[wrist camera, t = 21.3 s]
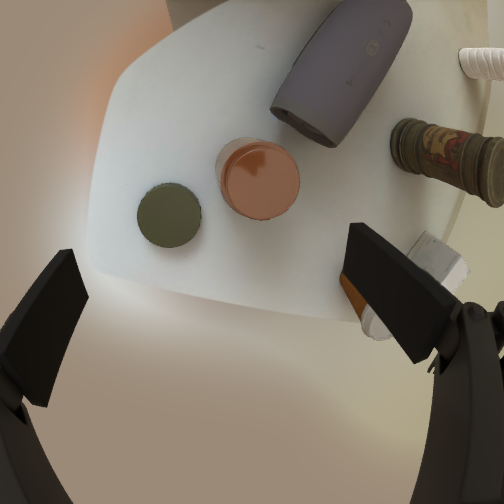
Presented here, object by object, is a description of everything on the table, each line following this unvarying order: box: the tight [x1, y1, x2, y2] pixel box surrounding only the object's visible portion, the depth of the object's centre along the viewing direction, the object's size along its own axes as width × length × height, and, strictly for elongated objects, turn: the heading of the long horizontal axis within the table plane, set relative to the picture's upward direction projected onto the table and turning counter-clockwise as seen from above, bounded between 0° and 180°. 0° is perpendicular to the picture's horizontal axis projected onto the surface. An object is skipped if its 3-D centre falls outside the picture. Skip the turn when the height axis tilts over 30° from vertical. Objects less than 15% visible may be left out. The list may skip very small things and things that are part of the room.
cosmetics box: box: [407, 231, 470, 294], centre depth 40 cm, size 10×6×10 cm, turn 144°
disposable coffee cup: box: [340, 270, 393, 341], centre depth 38 cm, size 10×10×12 cm
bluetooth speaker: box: [270, 0, 412, 148], centre depth 23 cm, size 23×9×10 cm, turn 149°
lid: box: [137, 183, 201, 248], centre depth 32 cm, size 8×8×2 cm
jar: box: [215, 137, 300, 221], centre depth 28 cm, size 8×8×10 cm
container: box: [391, 118, 504, 208], centre depth 27 cm, size 9×9×18 cm
